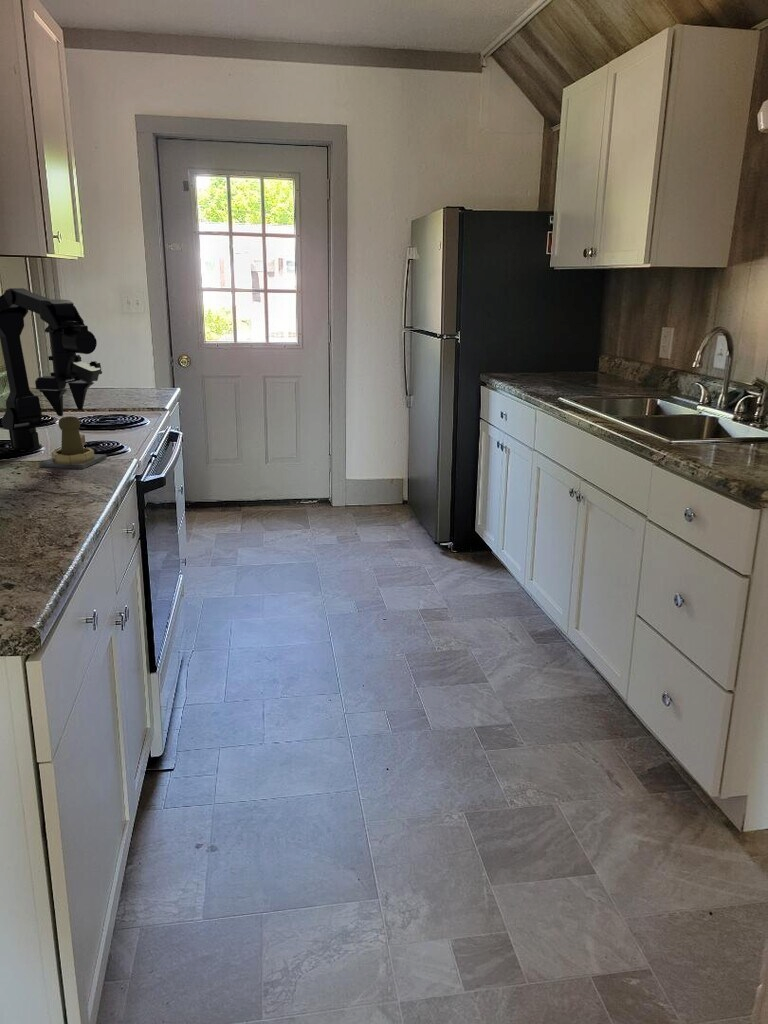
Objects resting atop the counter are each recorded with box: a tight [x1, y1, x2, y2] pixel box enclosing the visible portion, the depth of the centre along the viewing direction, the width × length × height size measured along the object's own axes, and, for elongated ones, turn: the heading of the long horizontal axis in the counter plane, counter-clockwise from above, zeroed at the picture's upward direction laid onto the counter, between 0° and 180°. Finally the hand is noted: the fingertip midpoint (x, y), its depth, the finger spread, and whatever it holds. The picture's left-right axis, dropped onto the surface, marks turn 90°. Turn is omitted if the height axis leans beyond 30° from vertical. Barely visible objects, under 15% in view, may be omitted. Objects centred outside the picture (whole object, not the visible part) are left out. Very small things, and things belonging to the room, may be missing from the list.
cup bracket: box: [38, 447, 108, 470], centre depth 199 cm, size 12×12×3 cm
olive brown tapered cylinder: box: [58, 415, 85, 455], centre depth 198 cm, size 6×6×11 cm
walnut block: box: [80, 433, 87, 446], centre depth 213 cm, size 5×5×4 cm
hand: (70, 412), depth 197 cm, fingers open, 9 cm apart
